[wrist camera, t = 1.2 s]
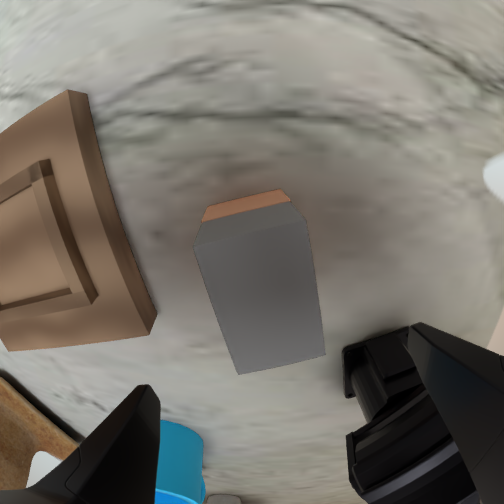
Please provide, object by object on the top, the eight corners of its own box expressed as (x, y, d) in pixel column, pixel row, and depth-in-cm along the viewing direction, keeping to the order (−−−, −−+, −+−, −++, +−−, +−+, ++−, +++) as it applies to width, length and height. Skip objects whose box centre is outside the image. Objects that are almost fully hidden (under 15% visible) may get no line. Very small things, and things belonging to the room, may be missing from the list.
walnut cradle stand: (157, 314, 20) (144, 346, 17) (20, 336, 21) (2, 359, 17) (86, 94, 14) (56, 87, 11) (-41, 181, 15) (-68, 190, 11)
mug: (116, 424, 25) (99, 483, 18) (175, 413, 24) (164, 484, 17) (177, 471, 29) (172, 522, 22) (232, 463, 29) (234, 519, 21)
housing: (300, 288, 20) (326, 355, 13) (236, 303, 20) (237, 375, 14) (280, 188, 17) (306, 218, 11) (207, 206, 18) (190, 245, 11)
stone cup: (-19, 382, 24) (-62, 451, 10) (1, 360, 22) (-57, 449, 8) (55, 449, 29) (29, 521, 15) (92, 441, 27) (64, 535, 13)
